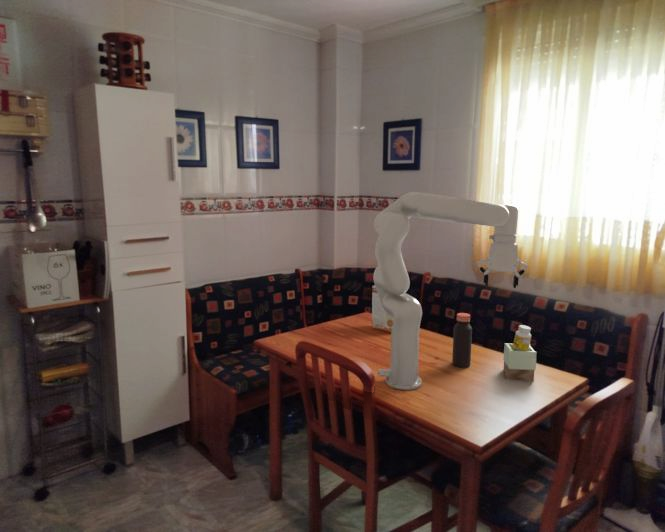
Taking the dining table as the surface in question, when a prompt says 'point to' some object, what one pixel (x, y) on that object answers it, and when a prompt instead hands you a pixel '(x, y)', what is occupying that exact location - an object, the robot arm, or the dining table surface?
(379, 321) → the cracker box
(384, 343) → the dining table surface
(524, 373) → the block lower
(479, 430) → the dining table surface
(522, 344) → the supplement bottle
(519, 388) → the dining table surface
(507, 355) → the small green shelf
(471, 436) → the dining table surface
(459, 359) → the vinegar
